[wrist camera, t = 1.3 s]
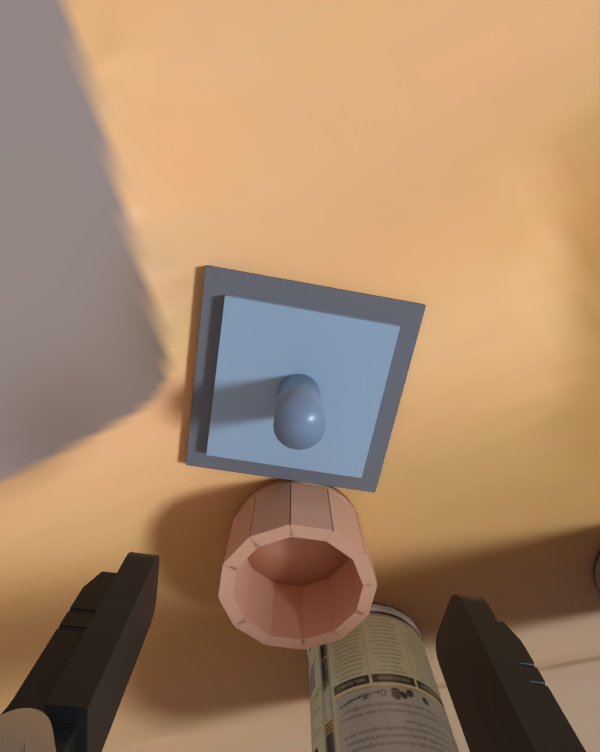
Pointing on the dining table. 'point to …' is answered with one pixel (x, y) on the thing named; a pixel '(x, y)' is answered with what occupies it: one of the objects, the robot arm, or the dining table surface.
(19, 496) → the dining table surface
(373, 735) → the coffee can
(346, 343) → the lid
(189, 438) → the mat
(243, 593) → the faceted pink cup
